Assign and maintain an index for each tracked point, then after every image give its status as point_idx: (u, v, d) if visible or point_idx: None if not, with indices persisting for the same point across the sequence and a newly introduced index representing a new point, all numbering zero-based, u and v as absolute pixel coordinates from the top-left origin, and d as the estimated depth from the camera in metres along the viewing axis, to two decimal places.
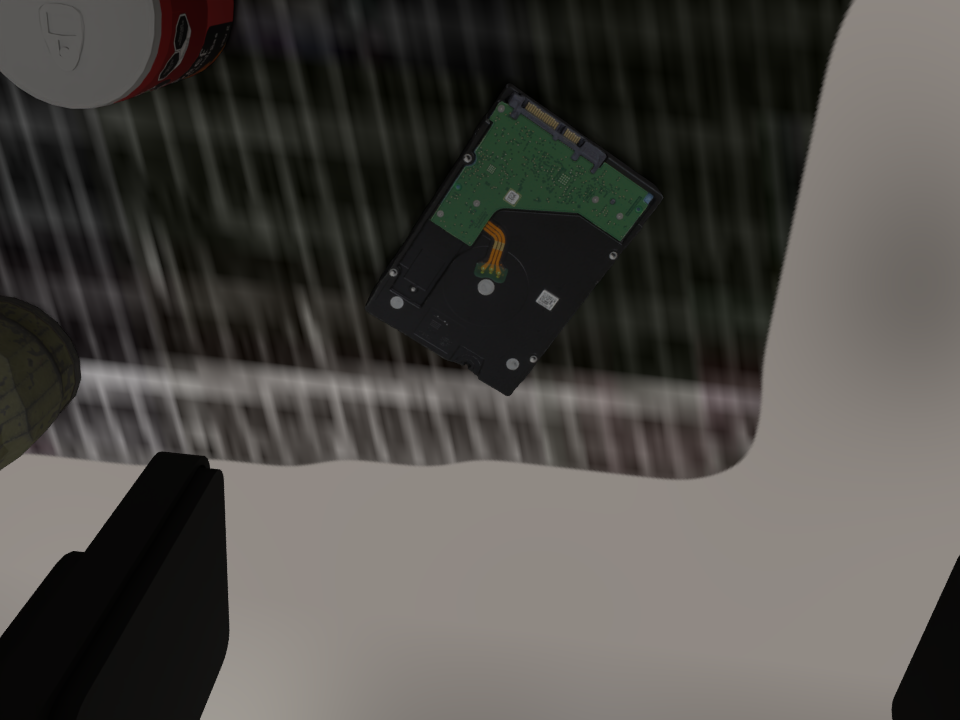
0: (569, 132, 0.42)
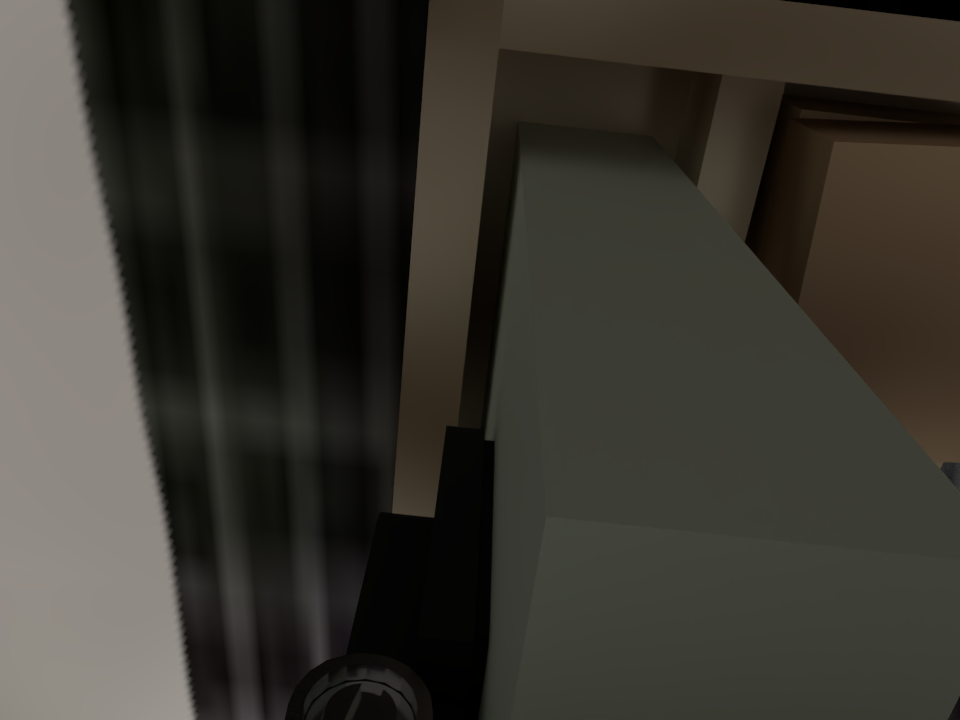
0: None
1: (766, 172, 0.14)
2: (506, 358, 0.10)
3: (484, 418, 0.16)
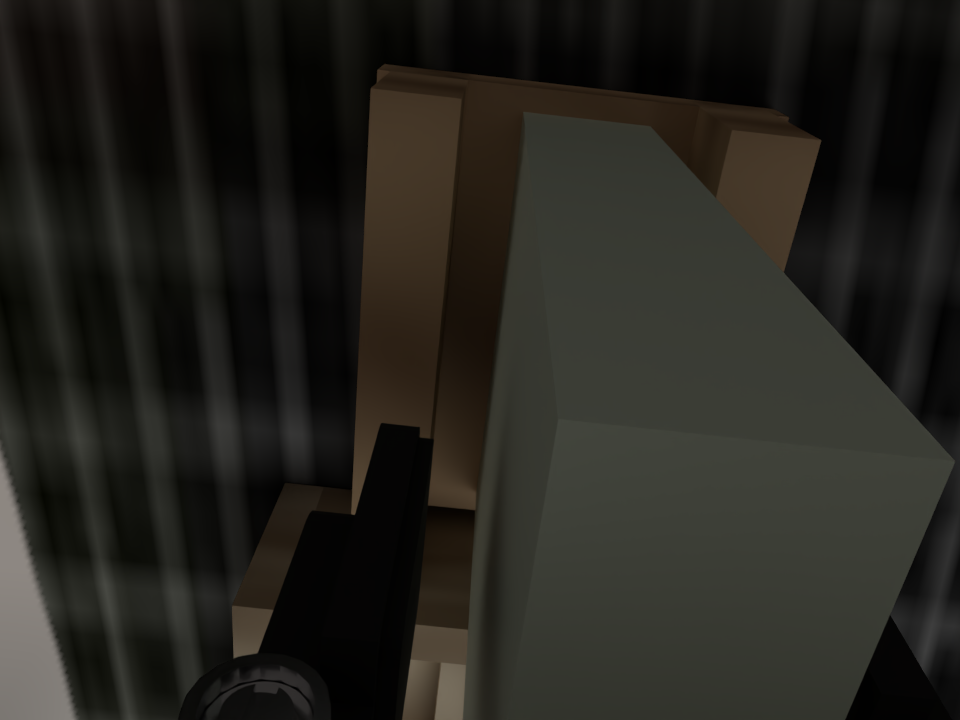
0: None
1: None
2: (515, 325, 0.11)
3: (491, 394, 0.17)
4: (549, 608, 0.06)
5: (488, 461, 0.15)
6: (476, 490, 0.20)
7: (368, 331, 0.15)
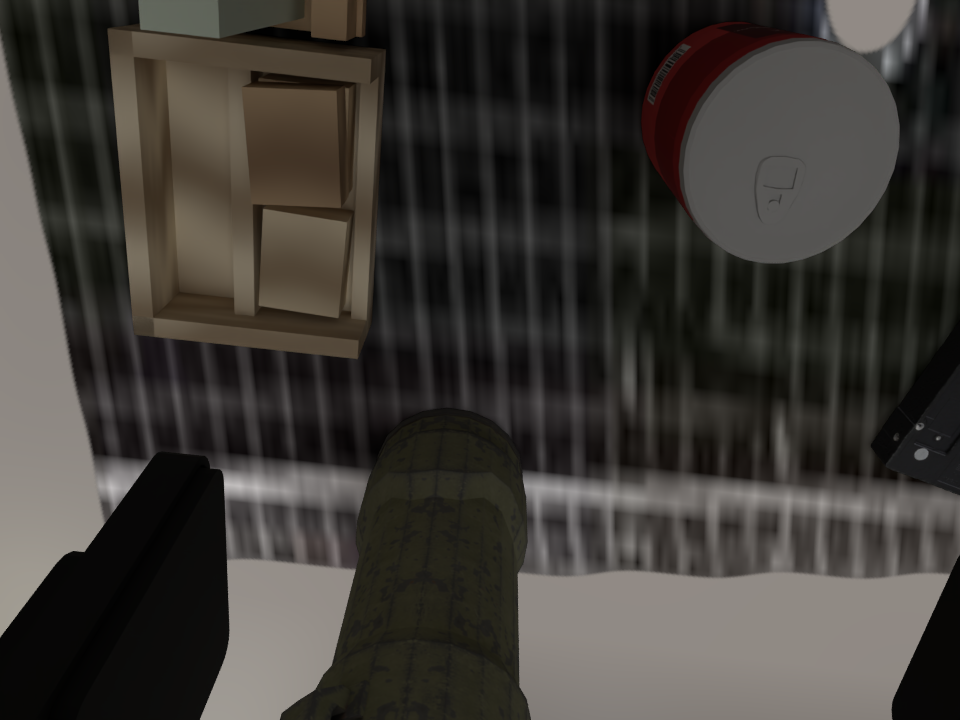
0: None
1: None
2: None
3: None
4: None
5: None
6: None
7: None
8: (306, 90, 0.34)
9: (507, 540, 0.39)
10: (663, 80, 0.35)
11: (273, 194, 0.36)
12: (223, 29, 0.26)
